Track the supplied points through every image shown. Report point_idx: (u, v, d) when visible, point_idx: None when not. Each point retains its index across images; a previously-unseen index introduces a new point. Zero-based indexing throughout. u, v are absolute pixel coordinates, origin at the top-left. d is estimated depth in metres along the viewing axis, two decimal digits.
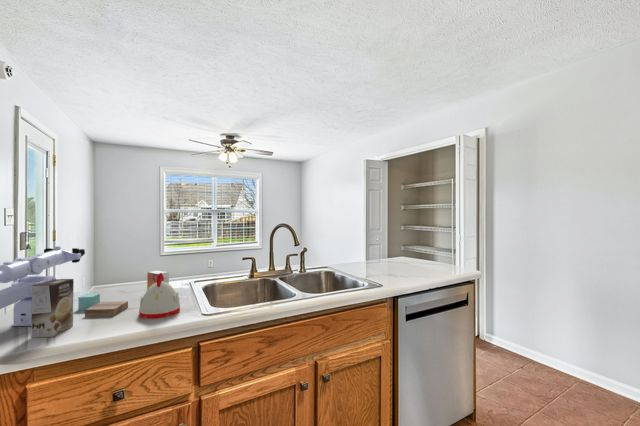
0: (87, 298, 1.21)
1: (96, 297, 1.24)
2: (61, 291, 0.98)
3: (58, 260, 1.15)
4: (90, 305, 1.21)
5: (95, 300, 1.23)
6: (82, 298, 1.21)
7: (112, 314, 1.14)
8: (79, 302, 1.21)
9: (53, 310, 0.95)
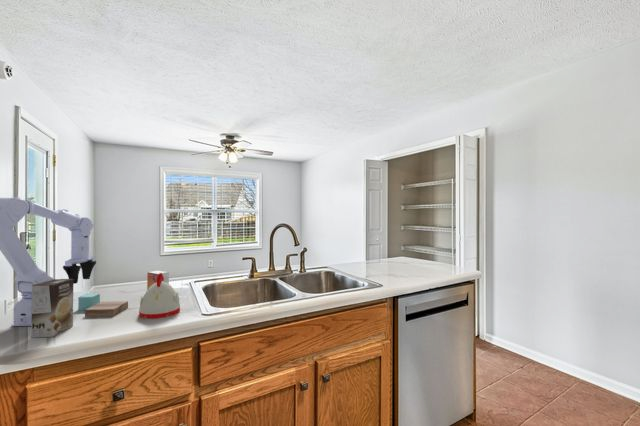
0: (87, 298, 1.21)
1: (96, 297, 1.24)
2: (61, 291, 0.98)
3: (74, 250, 1.21)
4: (90, 305, 1.21)
5: (95, 300, 1.23)
6: (82, 298, 1.21)
7: (112, 314, 1.14)
8: (79, 302, 1.21)
9: (53, 310, 0.95)
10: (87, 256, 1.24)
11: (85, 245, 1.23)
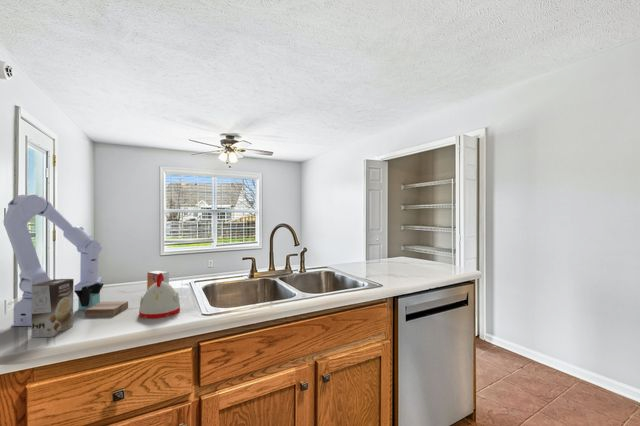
0: None
1: (96, 297, 1.24)
2: (61, 291, 0.98)
3: (83, 273, 1.21)
4: (90, 305, 1.21)
5: (95, 300, 1.23)
6: None
7: (112, 314, 1.14)
8: (79, 302, 1.21)
9: (53, 311, 0.95)
10: (96, 279, 1.23)
11: (92, 268, 1.22)
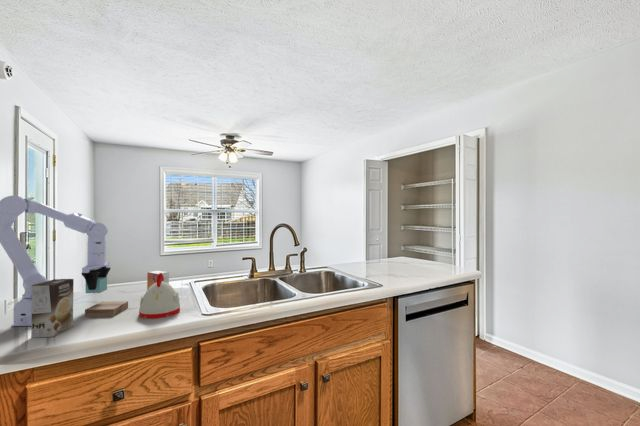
0: None
1: (103, 281, 1.22)
2: (61, 291, 0.98)
3: (90, 256, 1.19)
4: (97, 288, 1.19)
5: (103, 283, 1.22)
6: None
7: (112, 314, 1.14)
8: (86, 285, 1.19)
9: (53, 311, 0.95)
10: (103, 262, 1.22)
11: (97, 251, 1.19)
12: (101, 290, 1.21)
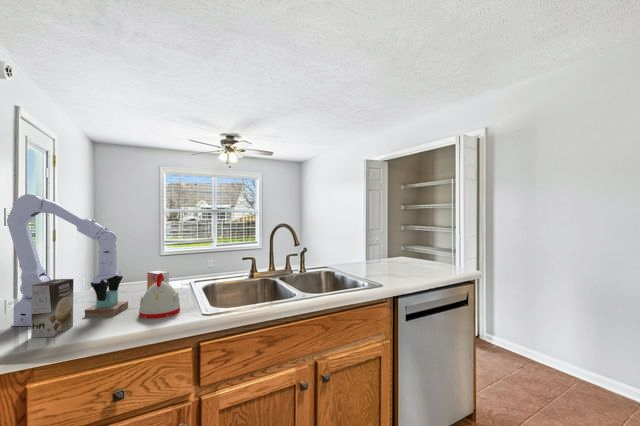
0: None
1: (114, 294, 1.19)
2: (61, 291, 0.98)
3: (101, 265, 1.16)
4: (108, 302, 1.16)
5: (113, 297, 1.19)
6: None
7: (112, 314, 1.14)
8: (97, 299, 1.16)
9: (53, 311, 0.95)
10: (115, 271, 1.19)
11: (105, 261, 1.16)
12: (112, 304, 1.18)
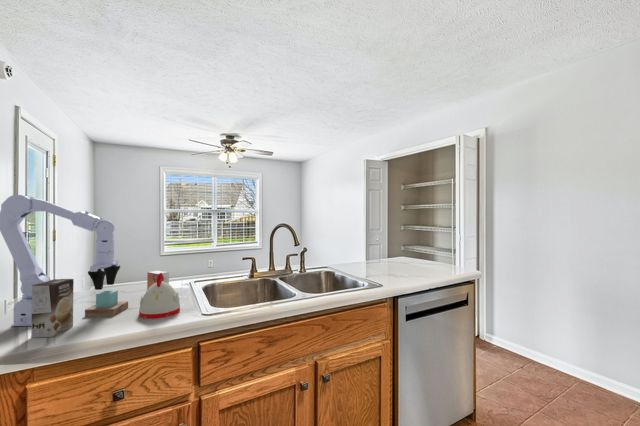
0: (105, 295, 1.16)
1: (114, 294, 1.19)
2: (61, 291, 0.98)
3: (99, 254, 1.16)
4: (108, 302, 1.16)
5: (113, 297, 1.18)
6: (100, 295, 1.16)
7: (112, 314, 1.14)
8: (97, 299, 1.16)
9: (53, 311, 0.95)
10: (112, 261, 1.19)
11: (103, 250, 1.16)
12: (111, 304, 1.17)
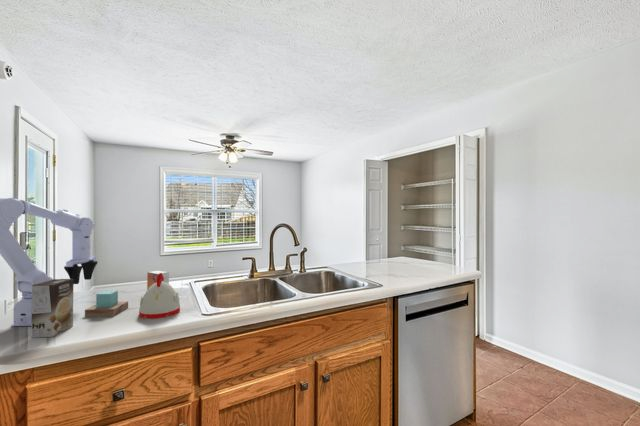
0: (105, 295, 1.16)
1: (114, 294, 1.19)
2: (61, 291, 0.98)
3: (75, 250, 1.20)
4: (108, 302, 1.16)
5: (113, 297, 1.19)
6: (100, 295, 1.16)
7: (112, 314, 1.14)
8: (97, 299, 1.16)
9: (53, 311, 0.95)
10: (88, 256, 1.23)
11: (86, 245, 1.22)
12: (112, 304, 1.18)
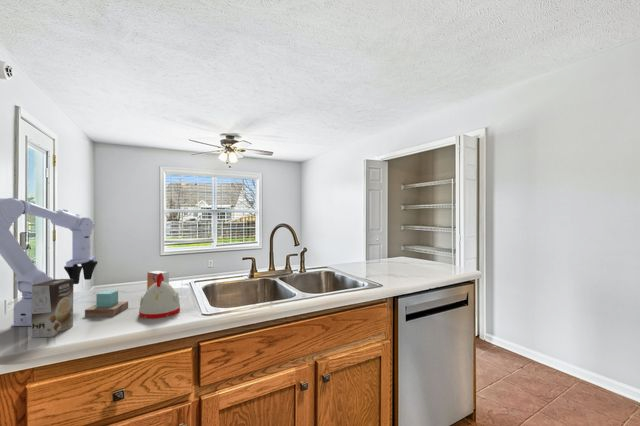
0: (105, 295, 1.16)
1: (114, 294, 1.19)
2: (61, 291, 0.98)
3: (75, 250, 1.20)
4: (108, 302, 1.17)
5: (113, 297, 1.19)
6: (100, 295, 1.16)
7: (112, 314, 1.14)
8: (97, 299, 1.16)
9: (53, 311, 0.95)
10: (88, 256, 1.23)
11: (86, 245, 1.22)
12: (112, 304, 1.18)
